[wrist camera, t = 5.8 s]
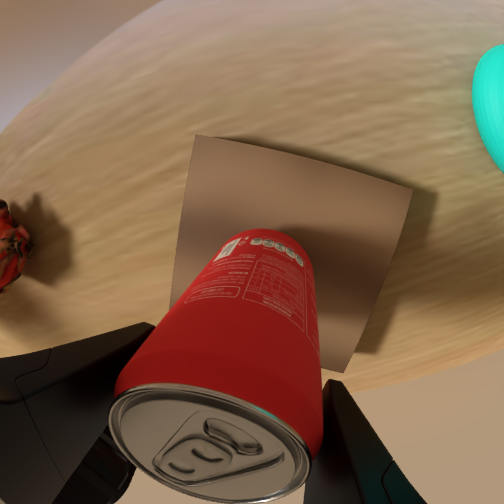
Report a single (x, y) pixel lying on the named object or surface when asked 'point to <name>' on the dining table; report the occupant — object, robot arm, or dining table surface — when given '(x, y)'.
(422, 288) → the dining table surface
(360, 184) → the walnut plinth
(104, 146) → the dining table surface
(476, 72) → the donuts
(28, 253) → the dragon fruit
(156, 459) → the beverage can
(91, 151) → the dining table surface
